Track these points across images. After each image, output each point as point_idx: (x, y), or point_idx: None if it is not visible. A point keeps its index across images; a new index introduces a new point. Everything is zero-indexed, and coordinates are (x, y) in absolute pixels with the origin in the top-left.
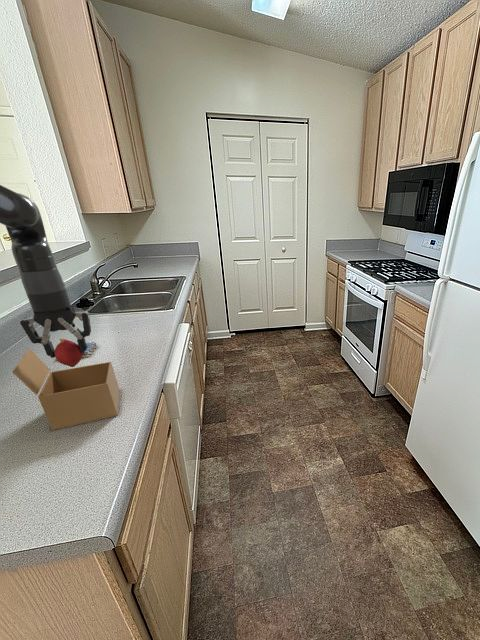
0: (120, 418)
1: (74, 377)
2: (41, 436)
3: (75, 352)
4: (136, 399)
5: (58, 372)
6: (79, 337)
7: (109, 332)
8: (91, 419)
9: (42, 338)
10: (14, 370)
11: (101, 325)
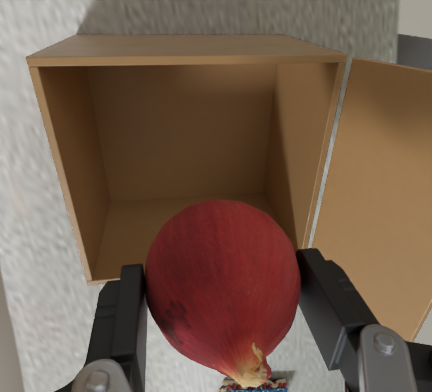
0: (56, 4)
1: None
2: (311, 8)
3: (167, 254)
4: (30, 128)
5: None
6: (99, 380)
7: None
8: (163, 35)
9: (411, 381)
10: None
11: None
